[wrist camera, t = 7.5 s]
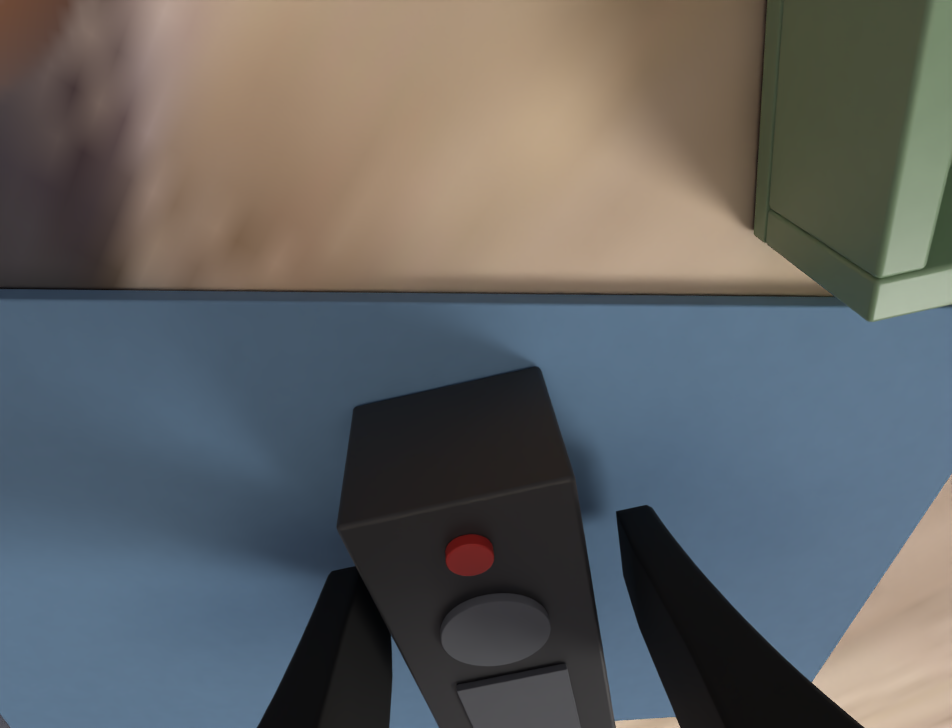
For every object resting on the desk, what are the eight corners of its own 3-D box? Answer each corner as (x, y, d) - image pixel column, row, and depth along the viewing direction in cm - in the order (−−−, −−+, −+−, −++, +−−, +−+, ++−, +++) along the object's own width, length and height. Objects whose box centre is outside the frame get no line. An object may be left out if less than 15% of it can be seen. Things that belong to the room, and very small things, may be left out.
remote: (586, 622, 15) (621, 754, 12) (454, 649, 15) (461, 784, 12) (540, 363, 10) (579, 488, 8) (351, 405, 10) (331, 540, 8)
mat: (787, 696, 19) (794, 709, 18) (40, 743, 16) (33, 759, 16) (1044, 298, 11) (1064, 307, 11) (-291, 285, 9) (-318, 297, 8)
